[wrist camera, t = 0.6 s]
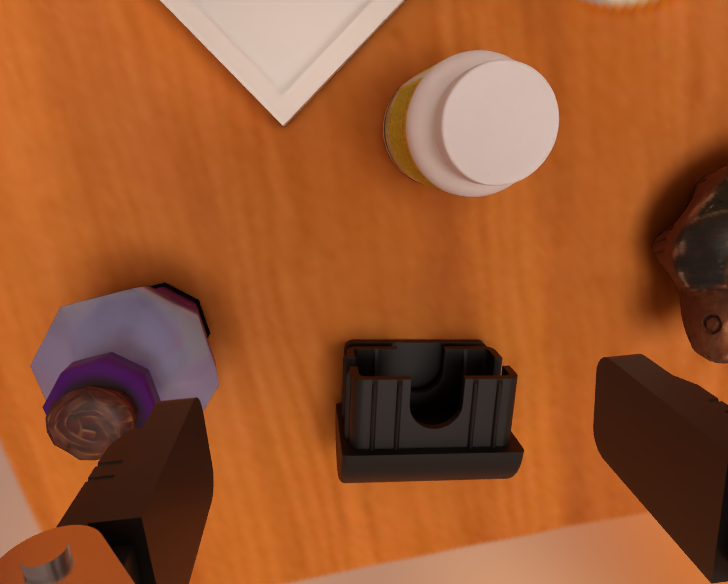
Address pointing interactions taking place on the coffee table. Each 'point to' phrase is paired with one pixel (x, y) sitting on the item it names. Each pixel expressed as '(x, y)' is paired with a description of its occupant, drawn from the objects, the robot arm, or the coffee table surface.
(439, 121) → the pill bottle
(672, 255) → the decorative turtle
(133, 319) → the potion bottle
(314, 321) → the coffee table surface
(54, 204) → the coffee table surface
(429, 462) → the end cap
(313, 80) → the tray
